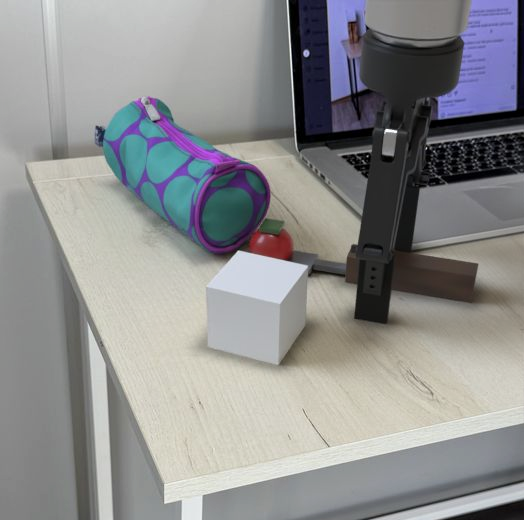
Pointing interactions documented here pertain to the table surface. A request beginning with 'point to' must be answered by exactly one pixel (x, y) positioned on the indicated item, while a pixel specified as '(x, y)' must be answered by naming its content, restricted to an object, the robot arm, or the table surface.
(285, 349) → the white cube
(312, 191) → the table surface
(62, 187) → the table surface
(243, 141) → the table surface
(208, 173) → the pencil case
